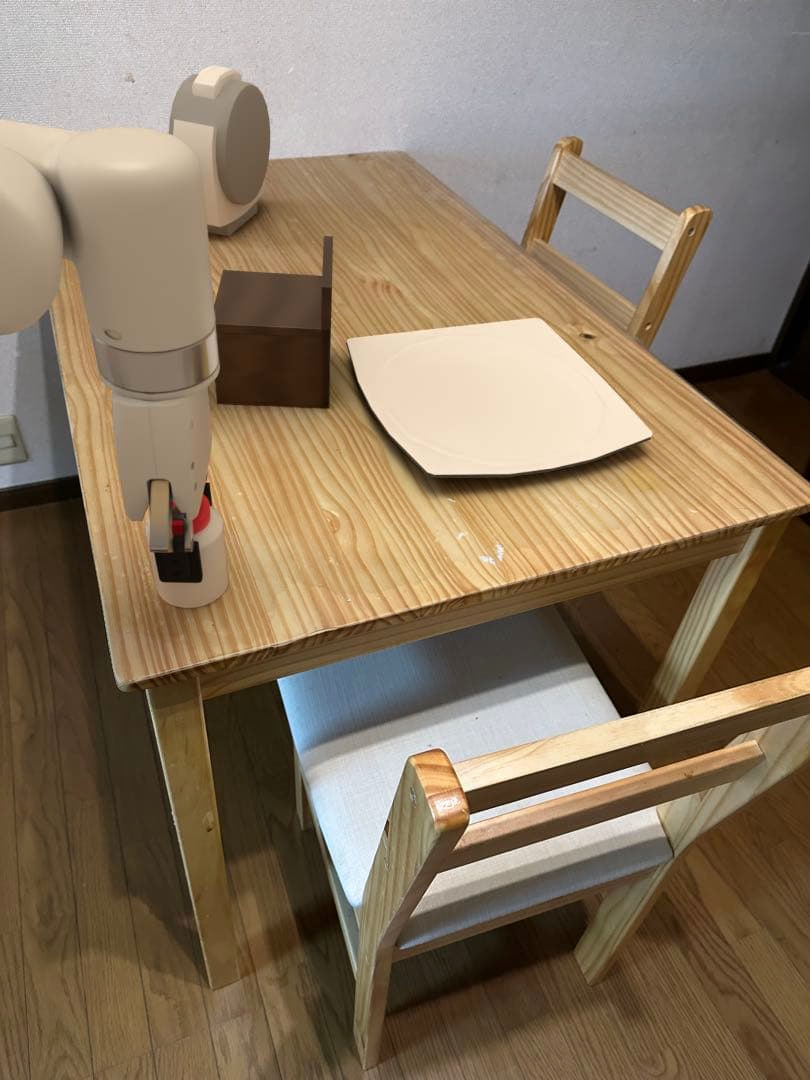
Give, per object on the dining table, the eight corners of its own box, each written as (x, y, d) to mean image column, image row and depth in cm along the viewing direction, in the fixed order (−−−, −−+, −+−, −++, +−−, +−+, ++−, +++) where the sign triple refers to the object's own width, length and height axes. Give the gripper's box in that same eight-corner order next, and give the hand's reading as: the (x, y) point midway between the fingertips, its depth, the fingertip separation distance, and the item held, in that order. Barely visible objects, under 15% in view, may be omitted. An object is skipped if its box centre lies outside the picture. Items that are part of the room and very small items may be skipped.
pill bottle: (237, 597, 63) (230, 523, 57) (164, 616, 61) (149, 540, 55) (219, 549, 67) (210, 475, 61) (149, 565, 65) (134, 490, 59)
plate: (330, 354, 92) (331, 334, 90) (539, 330, 101) (543, 311, 99) (418, 507, 73) (421, 486, 71) (664, 461, 82) (672, 441, 80)
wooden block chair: (217, 403, 82) (205, 279, 73) (228, 346, 91) (219, 228, 81) (329, 408, 83) (332, 287, 74) (330, 351, 92) (333, 236, 82)
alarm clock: (227, 195, 124) (217, 51, 110) (276, 205, 123) (273, 61, 109) (174, 236, 111) (155, 79, 97) (228, 248, 110) (217, 90, 96)
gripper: (124, 283, 54) (158, 479, 67) (60, 426, 42) (116, 633, 55) (231, 289, 55) (245, 481, 68) (199, 431, 43) (223, 634, 55)
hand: (187, 547), depth 61 cm, fingers closed on pill bottle, 5 cm apart
